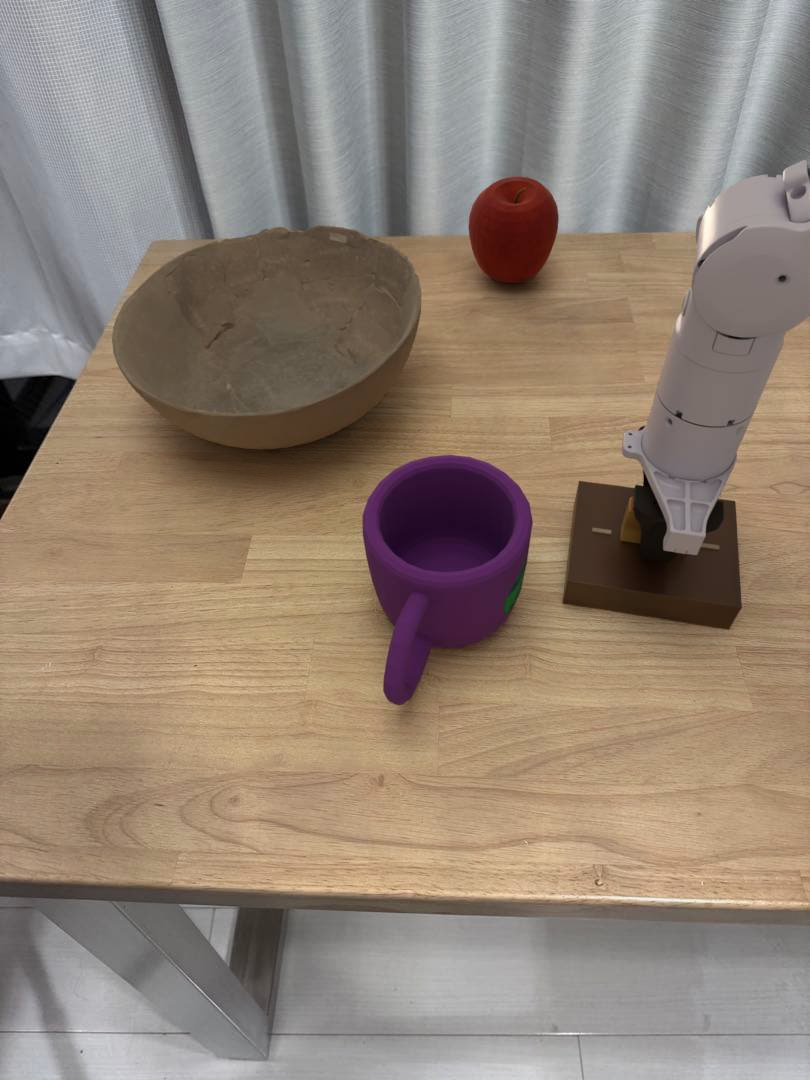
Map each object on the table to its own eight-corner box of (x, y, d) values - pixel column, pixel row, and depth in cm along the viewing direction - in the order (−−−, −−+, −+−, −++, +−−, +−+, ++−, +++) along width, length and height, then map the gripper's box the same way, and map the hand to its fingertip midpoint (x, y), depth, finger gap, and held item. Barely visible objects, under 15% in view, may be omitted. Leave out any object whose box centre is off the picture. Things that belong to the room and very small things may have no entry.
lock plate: (724, 524, 59) (736, 499, 56) (729, 629, 53) (742, 606, 50) (573, 504, 61) (579, 479, 58) (562, 603, 55) (567, 579, 52)
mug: (403, 524, 60) (395, 437, 52) (537, 556, 58) (550, 470, 50) (319, 708, 51) (294, 636, 43) (476, 759, 48) (481, 691, 40)
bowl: (453, 323, 77) (453, 234, 69) (377, 517, 61) (366, 430, 53) (218, 293, 83) (194, 208, 75) (92, 464, 67) (44, 379, 59)
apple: (460, 294, 80) (461, 206, 72) (475, 248, 86) (478, 161, 78) (546, 302, 78) (557, 213, 70) (556, 254, 84) (567, 166, 76)
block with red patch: (689, 536, 54) (702, 504, 51) (689, 551, 53) (703, 519, 51) (620, 527, 55) (630, 494, 52) (619, 541, 54) (629, 509, 51)
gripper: (641, 316, 48) (606, 459, 59) (632, 473, 40) (594, 607, 50) (753, 326, 47) (697, 470, 58) (769, 491, 38) (700, 624, 49)
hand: (655, 535), depth 54 cm, fingers open, 3 cm apart
